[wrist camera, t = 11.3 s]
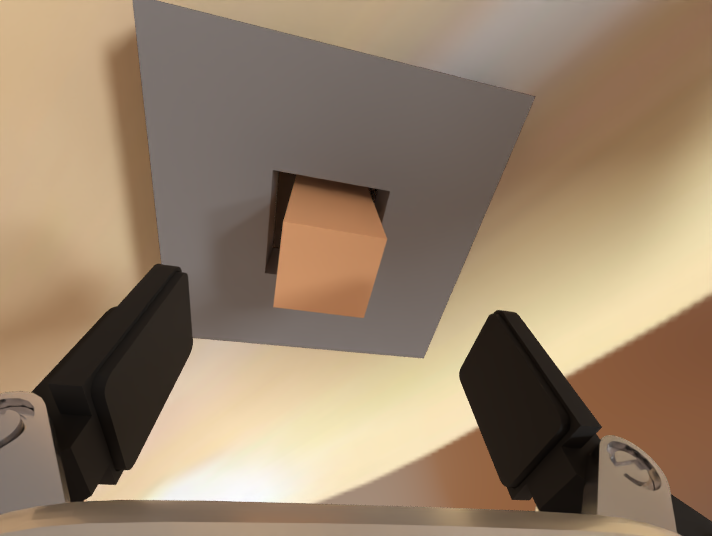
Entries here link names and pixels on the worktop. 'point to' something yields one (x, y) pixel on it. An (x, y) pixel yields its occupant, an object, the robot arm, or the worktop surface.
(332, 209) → the orange rectangular block
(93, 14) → the worktop surface
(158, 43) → the grey square hole board
